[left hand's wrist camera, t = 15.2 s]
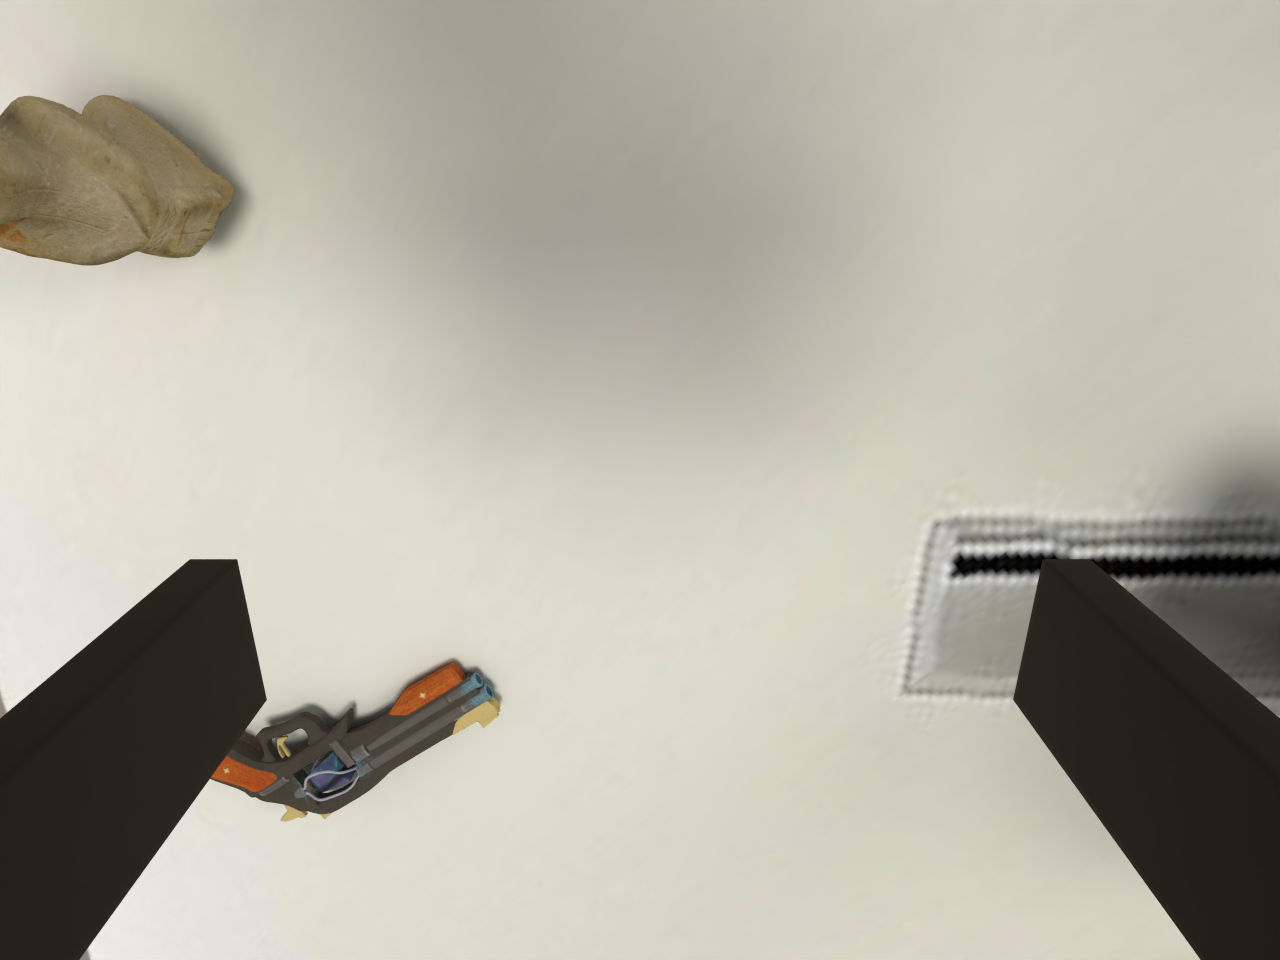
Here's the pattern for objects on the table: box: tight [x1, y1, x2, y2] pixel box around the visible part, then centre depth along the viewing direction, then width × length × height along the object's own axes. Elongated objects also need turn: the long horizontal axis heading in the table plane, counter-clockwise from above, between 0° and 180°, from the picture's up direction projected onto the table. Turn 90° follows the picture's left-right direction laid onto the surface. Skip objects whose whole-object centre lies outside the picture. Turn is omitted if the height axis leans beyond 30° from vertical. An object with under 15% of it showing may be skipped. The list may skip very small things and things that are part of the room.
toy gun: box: [210, 663, 501, 821], centre depth 47 cm, size 3×19×10 cm
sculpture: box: [0, 95, 234, 265], centre depth 30 cm, size 6×7×15 cm
